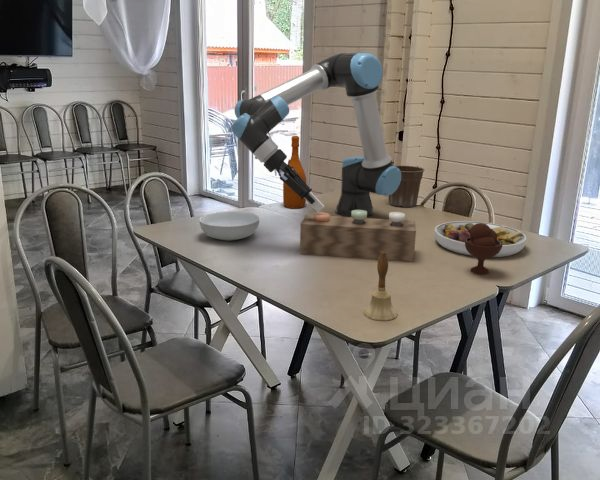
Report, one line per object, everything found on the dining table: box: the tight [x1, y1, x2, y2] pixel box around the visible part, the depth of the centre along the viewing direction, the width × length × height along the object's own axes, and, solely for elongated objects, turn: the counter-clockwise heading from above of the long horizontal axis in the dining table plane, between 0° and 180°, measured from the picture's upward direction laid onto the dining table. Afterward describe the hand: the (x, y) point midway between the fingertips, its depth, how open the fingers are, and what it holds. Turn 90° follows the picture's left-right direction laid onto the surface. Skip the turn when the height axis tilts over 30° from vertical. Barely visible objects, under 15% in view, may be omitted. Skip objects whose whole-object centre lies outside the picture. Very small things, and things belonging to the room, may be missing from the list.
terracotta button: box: [313, 211, 331, 222], centre depth 186 cm, size 5×5×6 cm
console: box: [299, 214, 417, 263], centre depth 185 cm, size 36×12×10 cm, turn 80°
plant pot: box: [388, 165, 425, 208], centre depth 250 cm, size 16×16×16 cm
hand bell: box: [363, 252, 398, 322], centre depth 139 cm, size 8×8×16 cm
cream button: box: [388, 211, 406, 227], centre depth 182 cm, size 5×5×6 cm
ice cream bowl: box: [465, 223, 503, 276], centre depth 169 cm, size 11×11×15 cm
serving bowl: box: [198, 210, 260, 242], centre depth 200 cm, size 21×21×7 cm
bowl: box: [434, 220, 527, 258], centre depth 195 cm, size 30×30×8 cm
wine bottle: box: [282, 135, 307, 209], centre depth 241 cm, size 10×10×30 cm
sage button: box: [351, 210, 368, 224], centre depth 184 cm, size 5×5×6 cm
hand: (321, 209), depth 185 cm, fingers closed
